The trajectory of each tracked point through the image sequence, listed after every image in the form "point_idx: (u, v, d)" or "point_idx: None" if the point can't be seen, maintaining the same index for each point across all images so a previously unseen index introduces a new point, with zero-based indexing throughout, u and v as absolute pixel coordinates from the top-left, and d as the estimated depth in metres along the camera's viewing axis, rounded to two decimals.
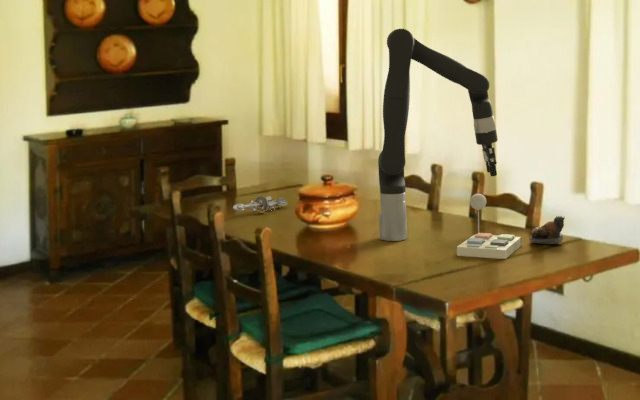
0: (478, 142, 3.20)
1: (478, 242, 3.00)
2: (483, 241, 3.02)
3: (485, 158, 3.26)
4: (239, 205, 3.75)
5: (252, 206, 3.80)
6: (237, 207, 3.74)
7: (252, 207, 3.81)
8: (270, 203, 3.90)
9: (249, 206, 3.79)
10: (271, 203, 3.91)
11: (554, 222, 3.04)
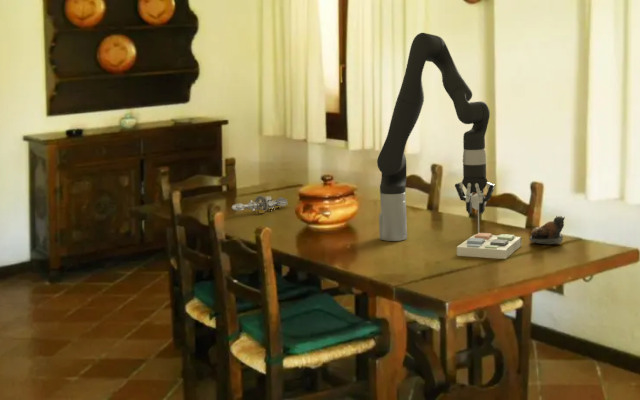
0: None
1: (478, 242, 3.00)
2: (483, 241, 3.02)
3: None
4: (238, 205, 3.75)
5: (251, 206, 3.81)
6: (236, 207, 3.74)
7: (251, 207, 3.81)
8: (270, 203, 3.90)
9: (248, 206, 3.79)
10: (271, 203, 3.91)
11: (554, 222, 3.04)
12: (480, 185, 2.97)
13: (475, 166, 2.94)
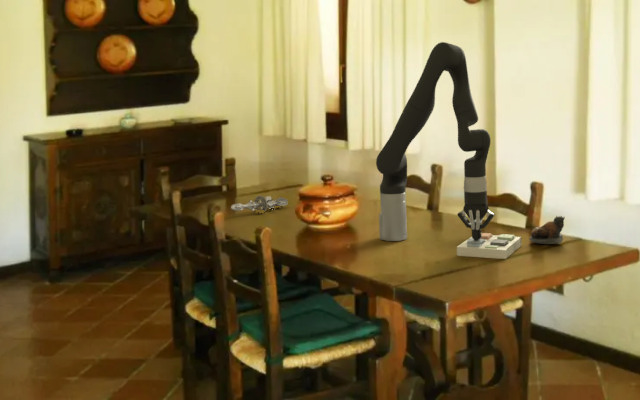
0: None
1: (478, 242, 3.00)
2: (483, 241, 3.02)
3: None
4: (237, 205, 3.76)
5: (251, 206, 3.81)
6: (235, 207, 3.74)
7: (251, 207, 3.81)
8: (270, 203, 3.90)
9: (248, 206, 3.79)
10: (271, 203, 3.91)
11: (554, 222, 3.04)
12: (481, 212, 2.99)
13: (476, 193, 2.96)
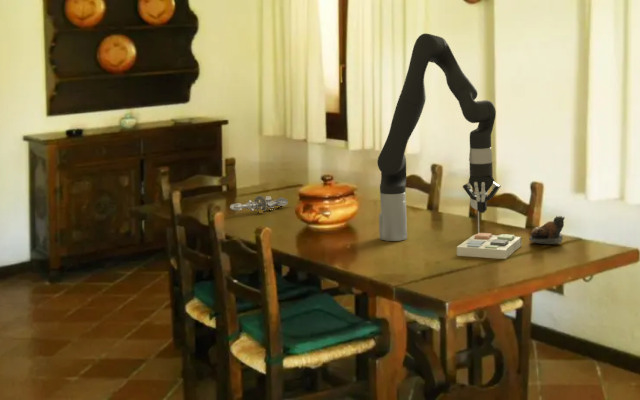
0: None
1: None
2: None
3: None
4: (236, 205, 3.76)
5: (250, 206, 3.81)
6: (234, 207, 3.75)
7: (250, 207, 3.81)
8: (269, 203, 3.90)
9: (247, 206, 3.80)
10: (270, 203, 3.91)
11: (554, 222, 3.04)
12: (486, 184, 2.97)
13: (481, 165, 2.95)
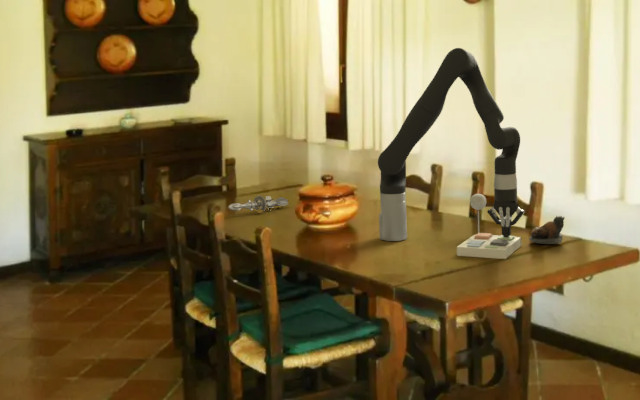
0: None
1: None
2: None
3: None
4: (235, 205, 3.77)
5: (249, 206, 3.81)
6: (233, 207, 3.75)
7: (249, 207, 3.82)
8: (269, 203, 3.90)
9: (246, 206, 3.80)
10: (270, 203, 3.91)
11: (554, 222, 3.04)
12: (511, 209, 3.02)
13: (506, 191, 2.99)
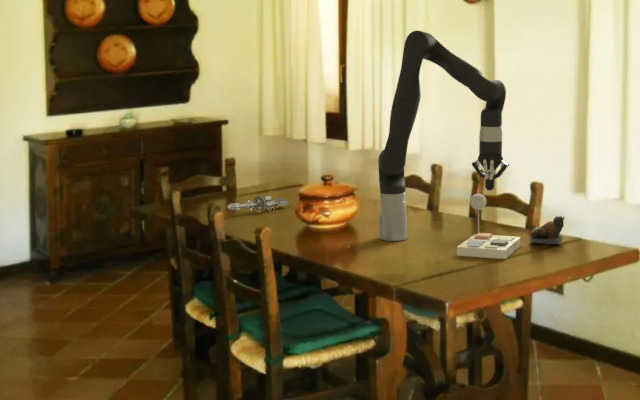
0: None
1: None
2: None
3: None
4: (234, 204, 3.77)
5: (248, 206, 3.82)
6: (232, 206, 3.76)
7: (248, 207, 3.82)
8: (269, 203, 3.90)
9: (245, 206, 3.80)
10: (270, 203, 3.91)
11: (554, 222, 3.04)
12: (495, 162, 3.03)
13: (491, 143, 3.00)
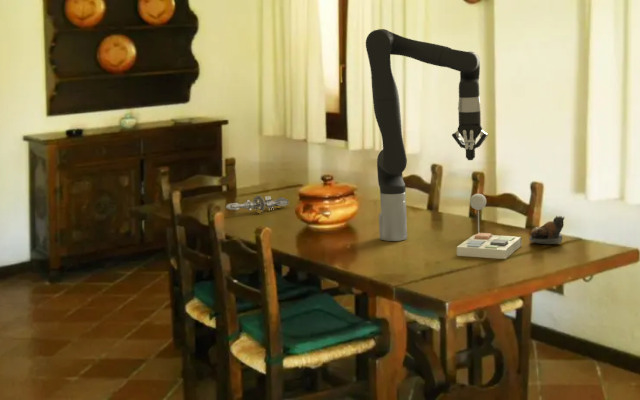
0: None
1: None
2: None
3: None
4: (233, 204, 3.77)
5: (247, 206, 3.82)
6: (230, 206, 3.76)
7: (248, 207, 3.82)
8: (269, 203, 3.90)
9: (244, 205, 3.81)
10: (270, 203, 3.91)
11: (554, 222, 3.04)
12: (475, 132, 3.09)
13: (470, 113, 3.06)
